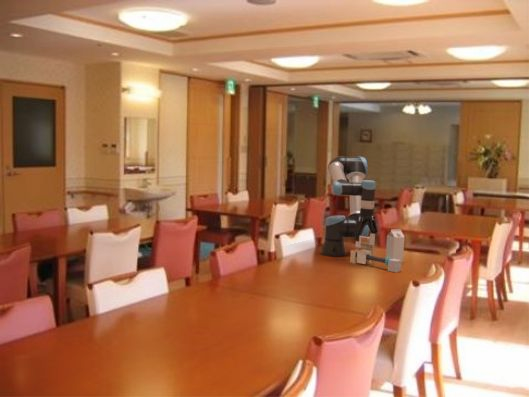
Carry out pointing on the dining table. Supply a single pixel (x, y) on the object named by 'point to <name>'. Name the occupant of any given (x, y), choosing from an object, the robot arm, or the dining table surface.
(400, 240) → the milk carton
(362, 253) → the sleeve
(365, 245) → the supplement box
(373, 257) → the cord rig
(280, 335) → the dining table surface
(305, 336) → the dining table surface
